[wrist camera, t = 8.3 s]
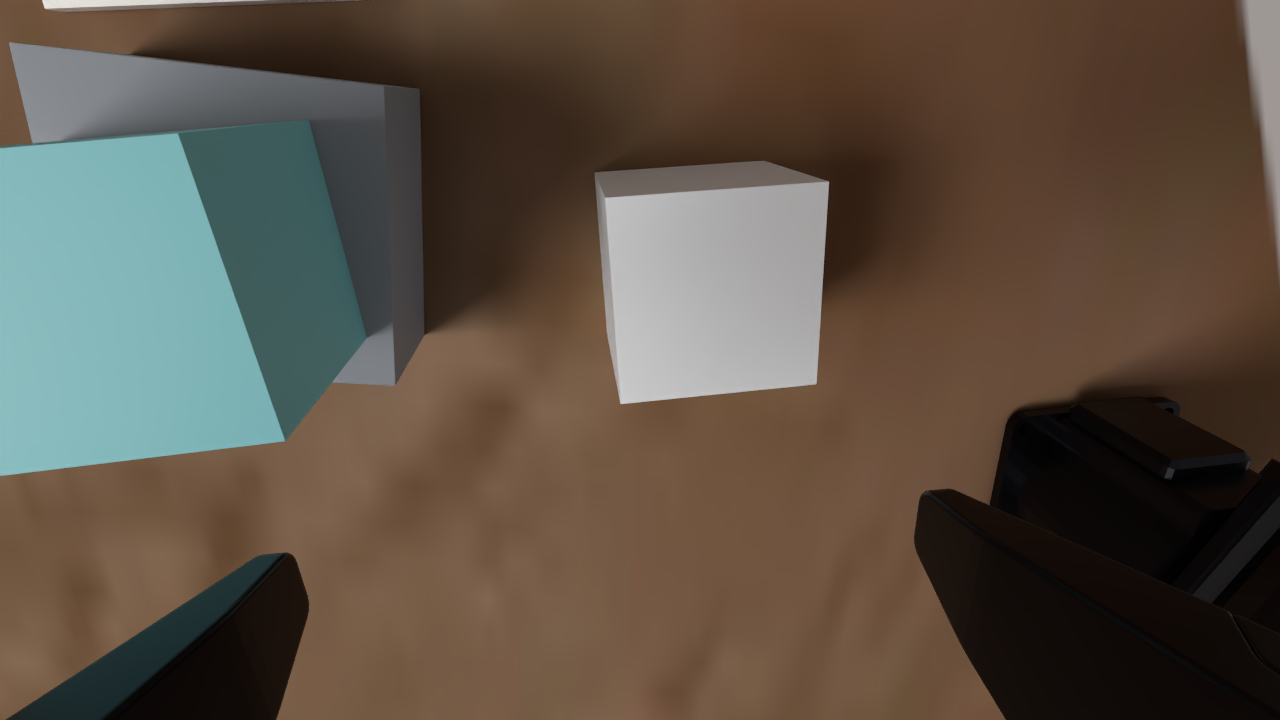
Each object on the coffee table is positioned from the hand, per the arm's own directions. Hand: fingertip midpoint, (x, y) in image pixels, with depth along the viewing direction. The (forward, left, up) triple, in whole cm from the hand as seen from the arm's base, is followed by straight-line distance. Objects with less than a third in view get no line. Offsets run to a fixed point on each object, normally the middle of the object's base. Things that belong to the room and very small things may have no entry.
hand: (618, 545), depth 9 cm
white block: (+1, -3, -12) cm, 12 cm away
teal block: (+3, +8, -8) cm, 12 cm away
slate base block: (+3, +8, -12) cm, 15 cm away
